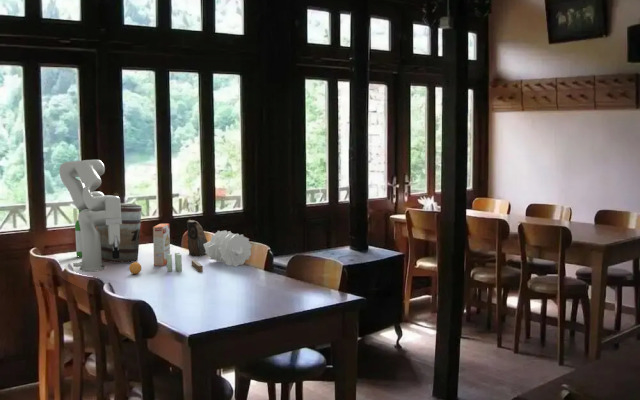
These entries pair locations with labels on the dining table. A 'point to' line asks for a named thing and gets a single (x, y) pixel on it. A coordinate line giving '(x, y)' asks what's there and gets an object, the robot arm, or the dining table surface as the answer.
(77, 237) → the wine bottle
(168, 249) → the cracker box
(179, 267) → the pin
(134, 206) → the barrel
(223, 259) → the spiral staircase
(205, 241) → the dark brown tall piece
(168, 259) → the front pin
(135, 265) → the ball
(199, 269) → the brown wooden bar
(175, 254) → the pin
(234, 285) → the dining table surface
